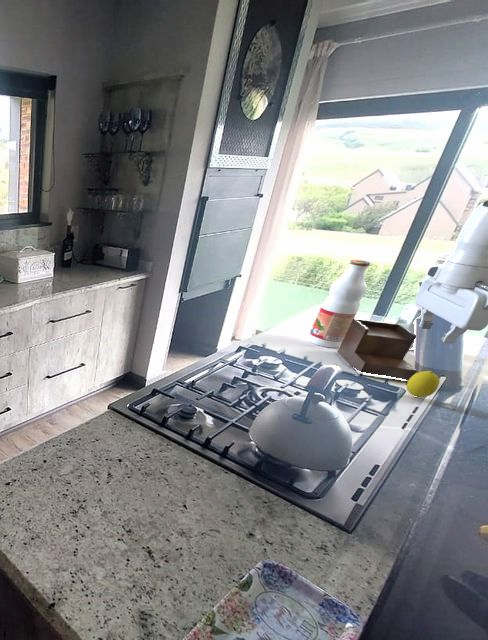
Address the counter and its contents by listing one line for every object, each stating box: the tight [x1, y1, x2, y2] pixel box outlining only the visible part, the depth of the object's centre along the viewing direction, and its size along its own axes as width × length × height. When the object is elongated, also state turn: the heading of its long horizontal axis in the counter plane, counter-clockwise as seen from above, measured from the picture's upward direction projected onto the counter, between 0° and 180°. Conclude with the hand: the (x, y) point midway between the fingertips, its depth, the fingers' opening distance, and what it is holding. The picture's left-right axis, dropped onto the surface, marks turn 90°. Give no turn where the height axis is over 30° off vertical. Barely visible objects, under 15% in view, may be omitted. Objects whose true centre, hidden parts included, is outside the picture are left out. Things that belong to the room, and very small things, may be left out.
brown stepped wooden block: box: [337, 318, 418, 383], centre depth 122 cm, size 12×18×12 cm, turn 159°
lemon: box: [406, 370, 440, 399], centre depth 106 cm, size 6×6×8 cm
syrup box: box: [395, 303, 421, 352], centre depth 135 cm, size 6×6×14 cm
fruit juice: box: [307, 259, 371, 349], centre depth 133 cm, size 9×9×28 cm
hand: (434, 335), depth 95 cm, fingers open, 8 cm apart
